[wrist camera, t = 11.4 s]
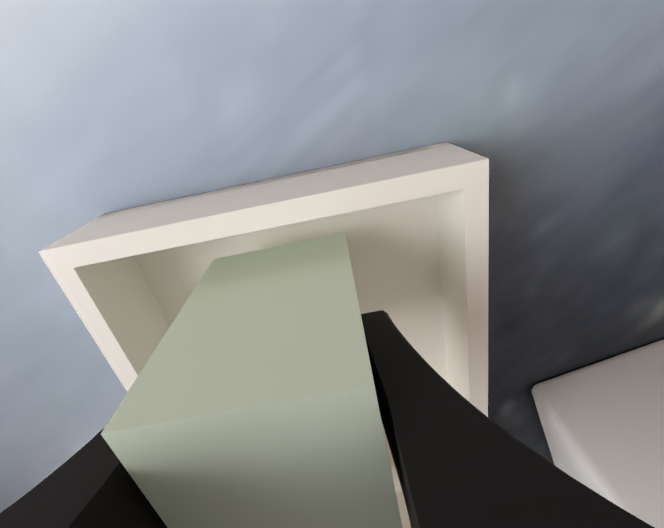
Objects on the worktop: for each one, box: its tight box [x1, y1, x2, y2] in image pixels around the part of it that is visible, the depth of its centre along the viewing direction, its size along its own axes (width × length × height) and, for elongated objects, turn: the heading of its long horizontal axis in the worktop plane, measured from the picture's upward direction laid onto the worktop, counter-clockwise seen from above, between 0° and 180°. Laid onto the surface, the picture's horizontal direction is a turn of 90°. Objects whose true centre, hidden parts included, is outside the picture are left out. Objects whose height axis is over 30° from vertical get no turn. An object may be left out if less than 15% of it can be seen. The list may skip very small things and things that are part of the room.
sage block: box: [101, 233, 402, 528], centre depth 8 cm, size 4×4×6 cm
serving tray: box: [38, 142, 489, 528], centre depth 14 cm, size 17×11×3 cm, turn 11°
